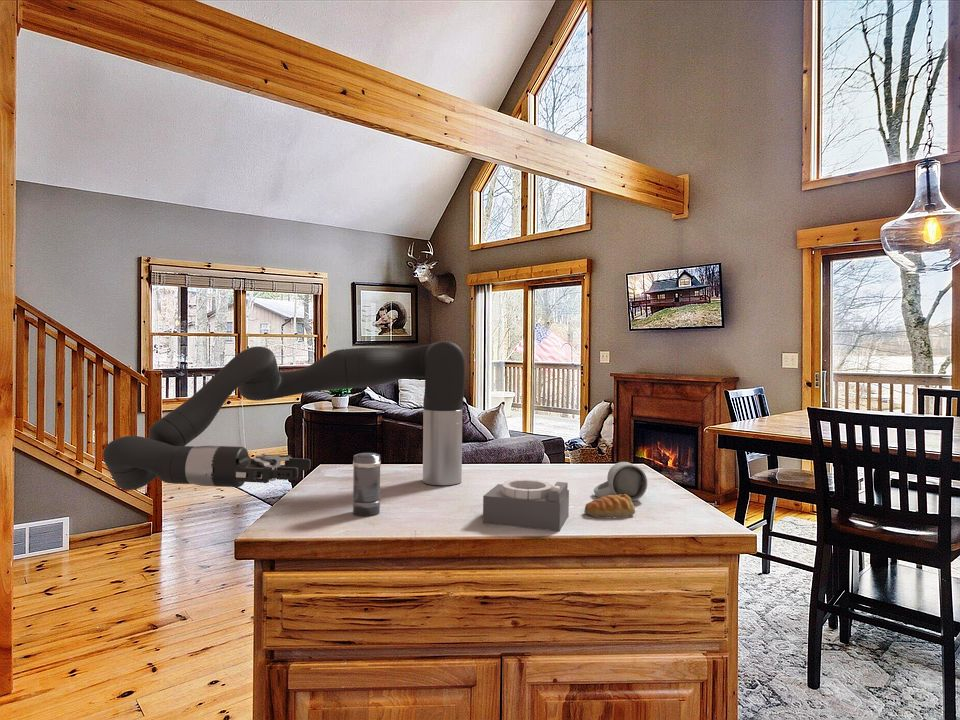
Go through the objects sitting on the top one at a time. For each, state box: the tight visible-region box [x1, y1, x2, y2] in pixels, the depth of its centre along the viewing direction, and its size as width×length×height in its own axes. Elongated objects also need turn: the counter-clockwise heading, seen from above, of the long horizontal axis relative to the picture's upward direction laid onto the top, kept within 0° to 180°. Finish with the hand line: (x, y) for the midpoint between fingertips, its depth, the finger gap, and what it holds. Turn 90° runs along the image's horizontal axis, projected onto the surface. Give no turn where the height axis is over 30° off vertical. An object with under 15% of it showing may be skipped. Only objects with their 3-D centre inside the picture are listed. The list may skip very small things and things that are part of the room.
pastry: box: [583, 494, 636, 519], centre depth 116 cm, size 9×7×4 cm
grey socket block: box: [482, 478, 570, 532], centre depth 111 cm, size 10×14×7 cm
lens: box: [352, 452, 382, 517], centre depth 115 cm, size 5×5×11 cm
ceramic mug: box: [593, 461, 648, 502], centre depth 130 cm, size 11×8×8 cm
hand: (304, 469), depth 113 cm, fingers open, 8 cm apart
